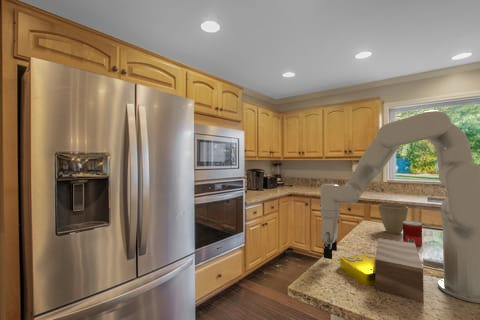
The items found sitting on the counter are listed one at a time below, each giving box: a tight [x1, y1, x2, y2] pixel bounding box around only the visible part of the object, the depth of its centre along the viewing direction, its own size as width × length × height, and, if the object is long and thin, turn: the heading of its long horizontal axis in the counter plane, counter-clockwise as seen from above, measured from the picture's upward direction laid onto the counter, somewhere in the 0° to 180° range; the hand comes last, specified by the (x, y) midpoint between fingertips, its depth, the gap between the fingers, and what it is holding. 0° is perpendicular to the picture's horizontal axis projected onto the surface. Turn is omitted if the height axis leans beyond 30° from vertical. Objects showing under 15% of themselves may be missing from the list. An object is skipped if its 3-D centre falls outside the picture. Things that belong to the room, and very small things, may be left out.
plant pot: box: [378, 203, 409, 235], centre depth 137 cm, size 15×15×16 cm
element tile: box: [339, 254, 376, 286], centre depth 87 cm, size 15×15×5 cm
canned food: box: [402, 220, 423, 248], centre depth 117 cm, size 8×8×11 cm
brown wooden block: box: [375, 237, 425, 303], centre depth 83 cm, size 25×12×10 cm, turn 147°
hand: (330, 254), depth 95 cm, fingers open, 9 cm apart
